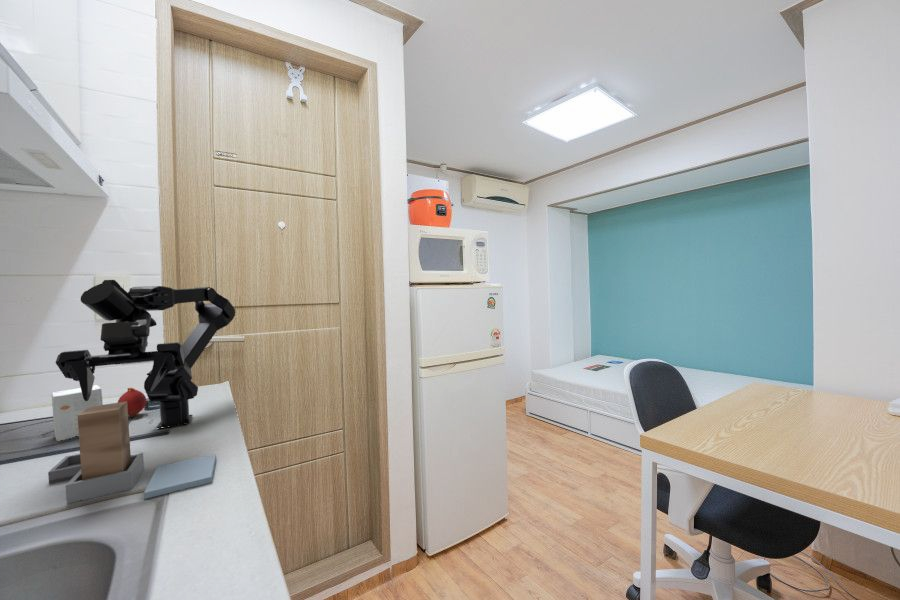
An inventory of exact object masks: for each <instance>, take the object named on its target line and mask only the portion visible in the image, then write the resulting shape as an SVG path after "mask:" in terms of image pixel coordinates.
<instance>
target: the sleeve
mask: <svg viewBox="0 0 900 600" xmlns="http://www.w3.org/2000/svg"><path fill="white" fill-rule="evenodd" d="M144 470H145V462H144V452H141V453H136V454H131V465H130V467H129V468H128V470H127V471H123V472H118V473H114V474H109V475H104V476H100V477H95V478H90V479H86V480H82V473H81V469H80V471H79V472H78V473H77V474H76V475H75V476H74V477H73V478H72V479H69V481H68V482H67V483H66V484H65V495H66V497H65V498H66V504H67V505H68V504H73V503H76V502H77V501H78V502H81V501H80V500H82V501H86V500H90V499H95V498H98V497H102V496H108V495H111V494H115V493H120V492H124V491H129V490H133V489H134V486H136V485H135V484H136V483H137V482H138V480H139V478H140V476H141V474H142V473H143V472H144Z"/></svg>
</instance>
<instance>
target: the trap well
mask: <svg viewBox="0 0 900 600" xmlns="http://www.w3.org/2000/svg"><path fill="white" fill-rule="evenodd" d="M80 469H81V458H80V453H77V454H71V455H66V456H65V457H63V458H62V459H61V460H60V461H58V463H57V464H55V465H54V467H52V468H51V469H50V470H49V471H48V472H47V473H48V476H47V477H48V484H54V483H58V482H62V481H67V480H71V479H72V478H73V477H74V476H75V475H76V474H77V473H78V472H79V471H80Z"/></svg>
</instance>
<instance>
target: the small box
mask: <svg viewBox="0 0 900 600" xmlns="http://www.w3.org/2000/svg"><path fill="white" fill-rule="evenodd" d="M102 394H103V393H102V388H101V387H100V386H99V385H97V384H95V385H94V384H93V387H92V392H91V396H90V398H89V400H88V401H85V400H84V399H83V395H82V391H81V387H78V388H72V389H71V388H70V389H67V390H66V389H65V390H61V391H54V392H51V401H52V402H51V404H52V417H53V429H54V435H55V440H56V442H57V441H59V442H61V441H60V440H63V441H65V440H64V439H67V440H69V439H68V438H71V437H75V436H79V429H78V415H79V414H80V413H81V412H83V411H84V410H86V409H87V408H88V407H91V406H98V405H104V404H103V395H102ZM75 438H76V437H75ZM71 439H72V438H71Z"/></svg>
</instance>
